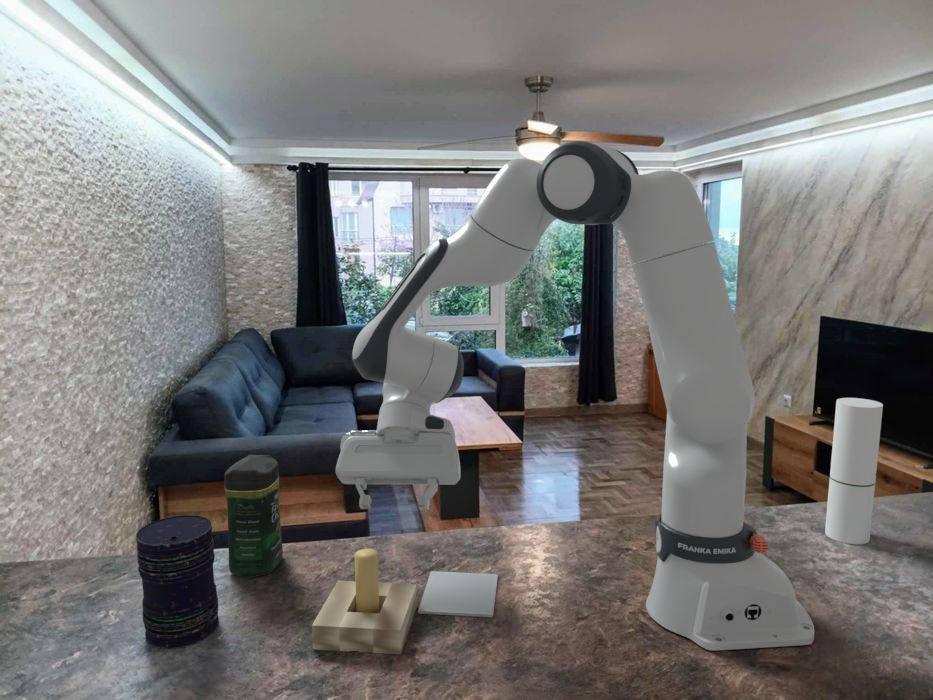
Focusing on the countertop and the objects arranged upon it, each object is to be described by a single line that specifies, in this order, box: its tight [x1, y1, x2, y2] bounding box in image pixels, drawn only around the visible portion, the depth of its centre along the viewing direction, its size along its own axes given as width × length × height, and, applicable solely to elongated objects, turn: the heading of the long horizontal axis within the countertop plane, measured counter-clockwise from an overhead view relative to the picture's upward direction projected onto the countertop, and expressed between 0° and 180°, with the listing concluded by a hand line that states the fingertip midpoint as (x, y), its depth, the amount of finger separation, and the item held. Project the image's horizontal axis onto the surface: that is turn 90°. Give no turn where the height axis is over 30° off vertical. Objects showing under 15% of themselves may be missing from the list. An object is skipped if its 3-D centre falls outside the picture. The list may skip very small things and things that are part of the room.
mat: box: [417, 570, 499, 618], centre depth 105 cm, size 11×12×1 cm
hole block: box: [311, 580, 418, 655], centre depth 97 cm, size 12×12×4 cm
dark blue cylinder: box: [135, 514, 220, 650], centre depth 95 cm, size 10×10×15 cm
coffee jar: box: [223, 454, 284, 578], centre depth 113 cm, size 10×8×19 cm
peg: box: [354, 548, 379, 613], centre depth 96 cm, size 3×3×11 cm
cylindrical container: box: [824, 397, 884, 546], centre depth 123 cm, size 7×7×25 cm
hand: (393, 508), depth 107 cm, fingers open, 8 cm apart
